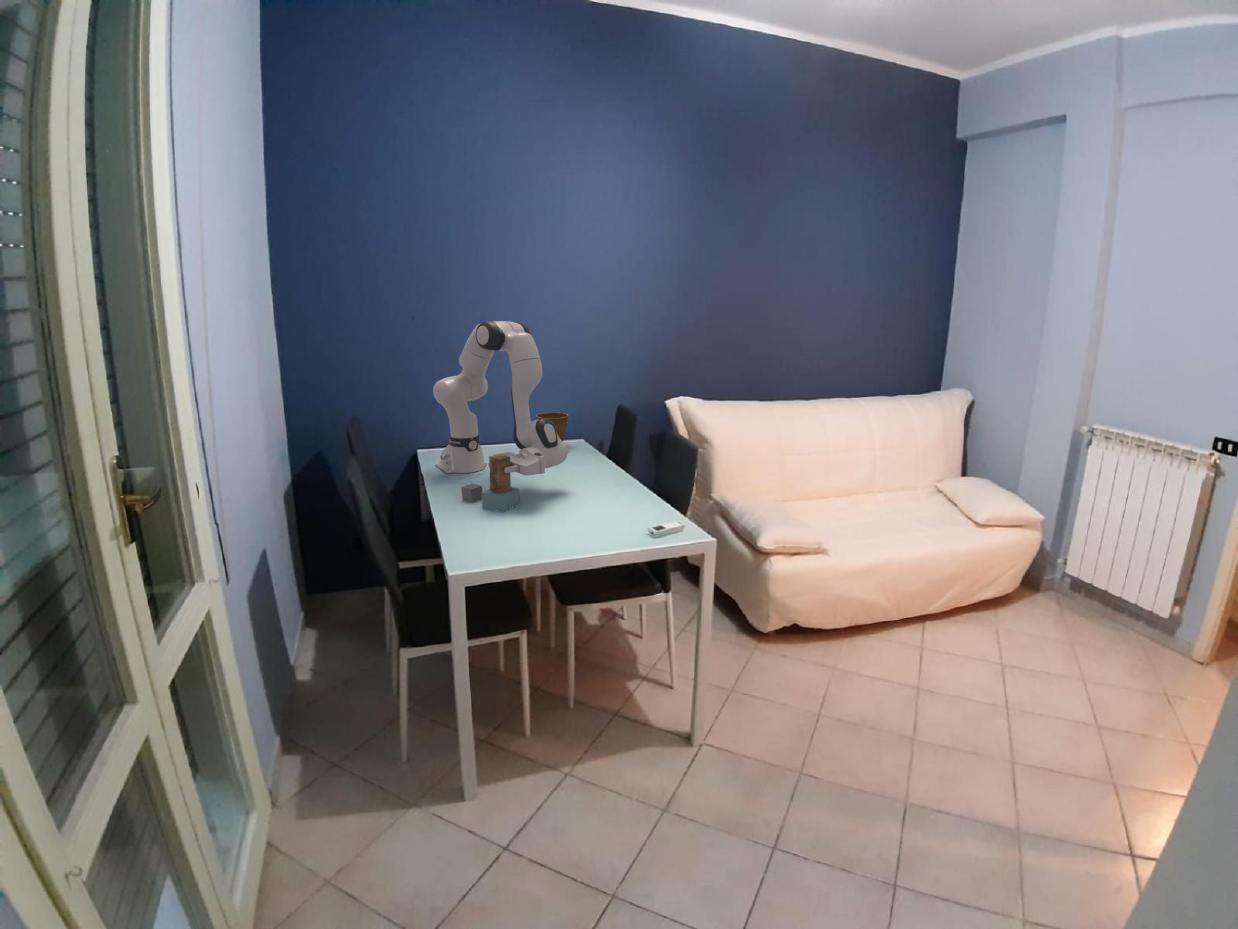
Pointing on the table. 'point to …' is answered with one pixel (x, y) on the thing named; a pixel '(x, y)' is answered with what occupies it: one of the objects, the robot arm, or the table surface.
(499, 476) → the walnut block
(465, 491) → the charcoal cube
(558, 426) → the plant pot
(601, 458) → the table surface
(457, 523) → the table surface
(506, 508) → the teal base block
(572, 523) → the table surface
